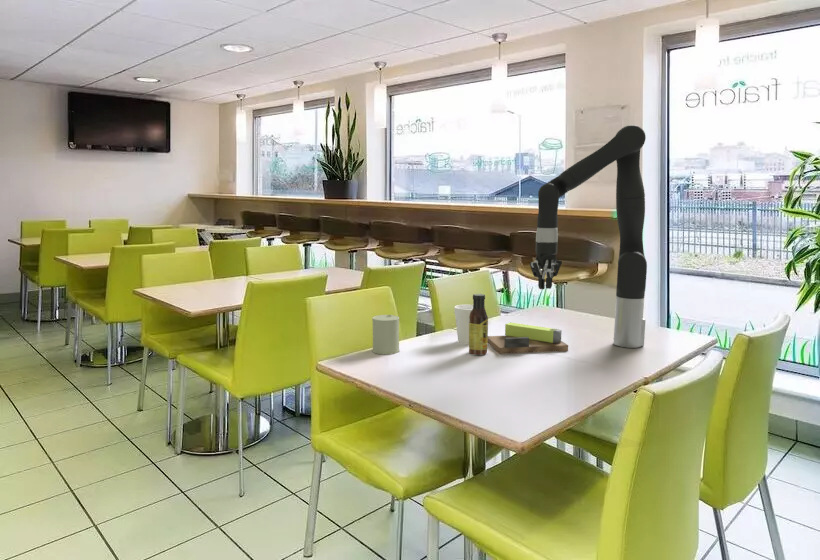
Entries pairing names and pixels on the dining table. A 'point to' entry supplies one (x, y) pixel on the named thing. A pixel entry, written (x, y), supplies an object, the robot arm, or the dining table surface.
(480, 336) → the sauce bottle
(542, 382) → the dining table surface
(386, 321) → the can
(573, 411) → the dining table surface
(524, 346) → the board
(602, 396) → the dining table surface
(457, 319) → the foam cup
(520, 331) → the yellow-green long bar
